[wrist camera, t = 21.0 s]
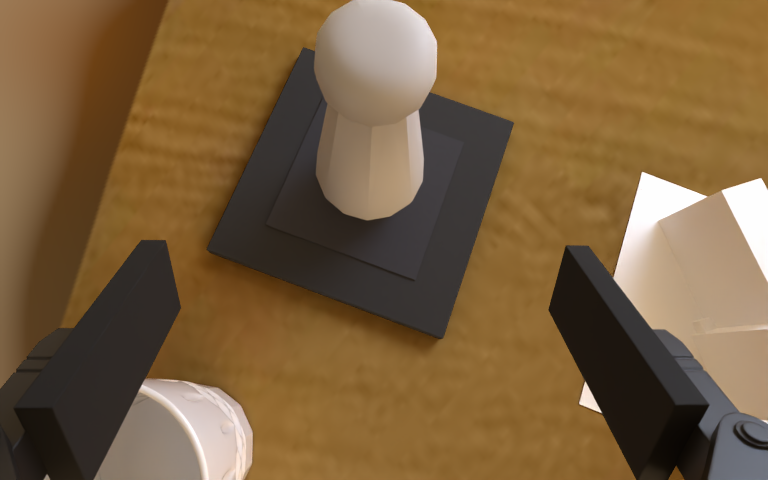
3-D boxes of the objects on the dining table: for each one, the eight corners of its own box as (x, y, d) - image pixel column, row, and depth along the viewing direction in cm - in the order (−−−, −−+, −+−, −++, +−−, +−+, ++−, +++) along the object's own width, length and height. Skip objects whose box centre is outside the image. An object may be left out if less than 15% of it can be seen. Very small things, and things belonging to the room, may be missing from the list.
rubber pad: (210, 252, 28) (205, 249, 27) (304, 54, 31) (302, 45, 30) (440, 339, 27) (443, 338, 26) (510, 128, 31) (514, 121, 30)
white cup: (88, 520, 24) (-94, 626, 14) (136, 359, 26) (5, 357, 16) (244, 548, 24) (168, 673, 14) (281, 386, 26) (235, 400, 16)
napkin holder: (639, 170, 30) (701, 127, 25) (814, 235, 30) (918, 206, 24) (578, 406, 27) (636, 418, 21) (777, 484, 26) (890, 516, 21)
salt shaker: (428, 152, 29) (484, -10, 16) (404, 242, 27) (445, 140, 15) (335, 126, 29) (318, -55, 16) (305, 214, 28) (262, 89, 15)
